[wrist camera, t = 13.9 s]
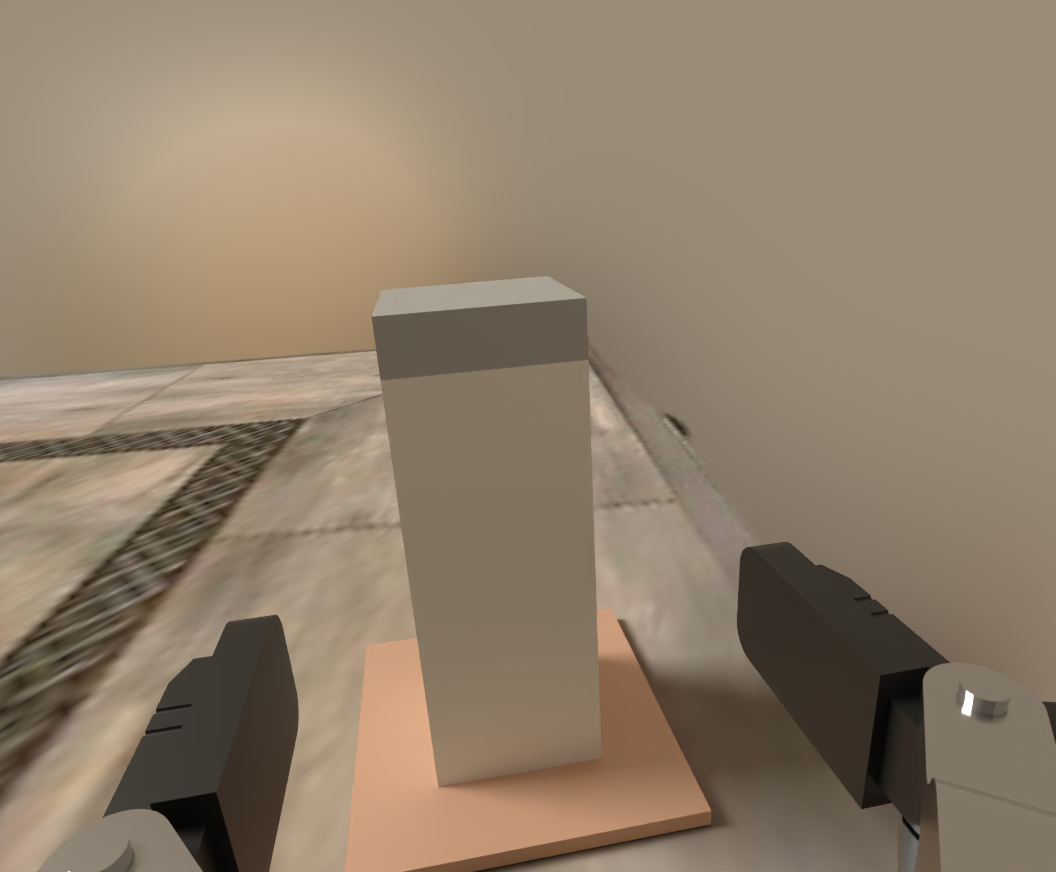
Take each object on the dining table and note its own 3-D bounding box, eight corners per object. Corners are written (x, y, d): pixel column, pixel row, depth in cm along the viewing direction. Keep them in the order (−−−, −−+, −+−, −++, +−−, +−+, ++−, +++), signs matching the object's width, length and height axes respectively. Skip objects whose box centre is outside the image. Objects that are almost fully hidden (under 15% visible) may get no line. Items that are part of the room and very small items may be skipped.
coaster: (346, 897, 18) (343, 883, 17) (368, 655, 27) (367, 645, 27) (710, 824, 19) (711, 810, 19) (611, 618, 28) (611, 608, 28)
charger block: (438, 787, 20) (371, 316, 15) (433, 676, 25) (381, 290, 20) (601, 758, 21) (586, 298, 16) (567, 655, 25) (547, 276, 21)
